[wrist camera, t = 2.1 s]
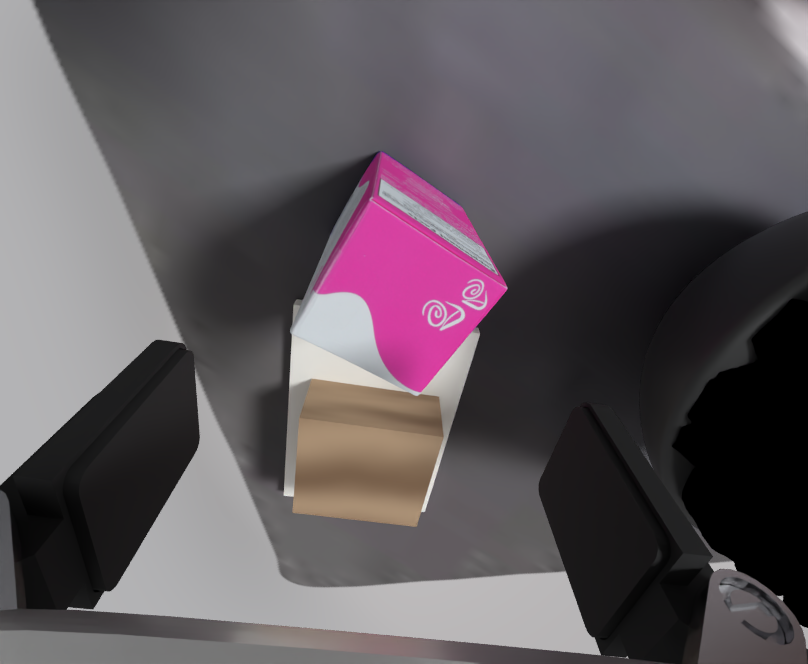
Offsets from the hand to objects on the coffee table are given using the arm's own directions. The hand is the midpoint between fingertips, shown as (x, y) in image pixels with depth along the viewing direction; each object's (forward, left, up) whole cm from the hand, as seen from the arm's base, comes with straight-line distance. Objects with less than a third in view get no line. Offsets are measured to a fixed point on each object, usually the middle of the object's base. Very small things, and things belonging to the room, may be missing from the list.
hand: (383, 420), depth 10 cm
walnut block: (+15, +1, -16) cm, 22 cm away
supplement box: (-1, 0, -17) cm, 17 cm away
